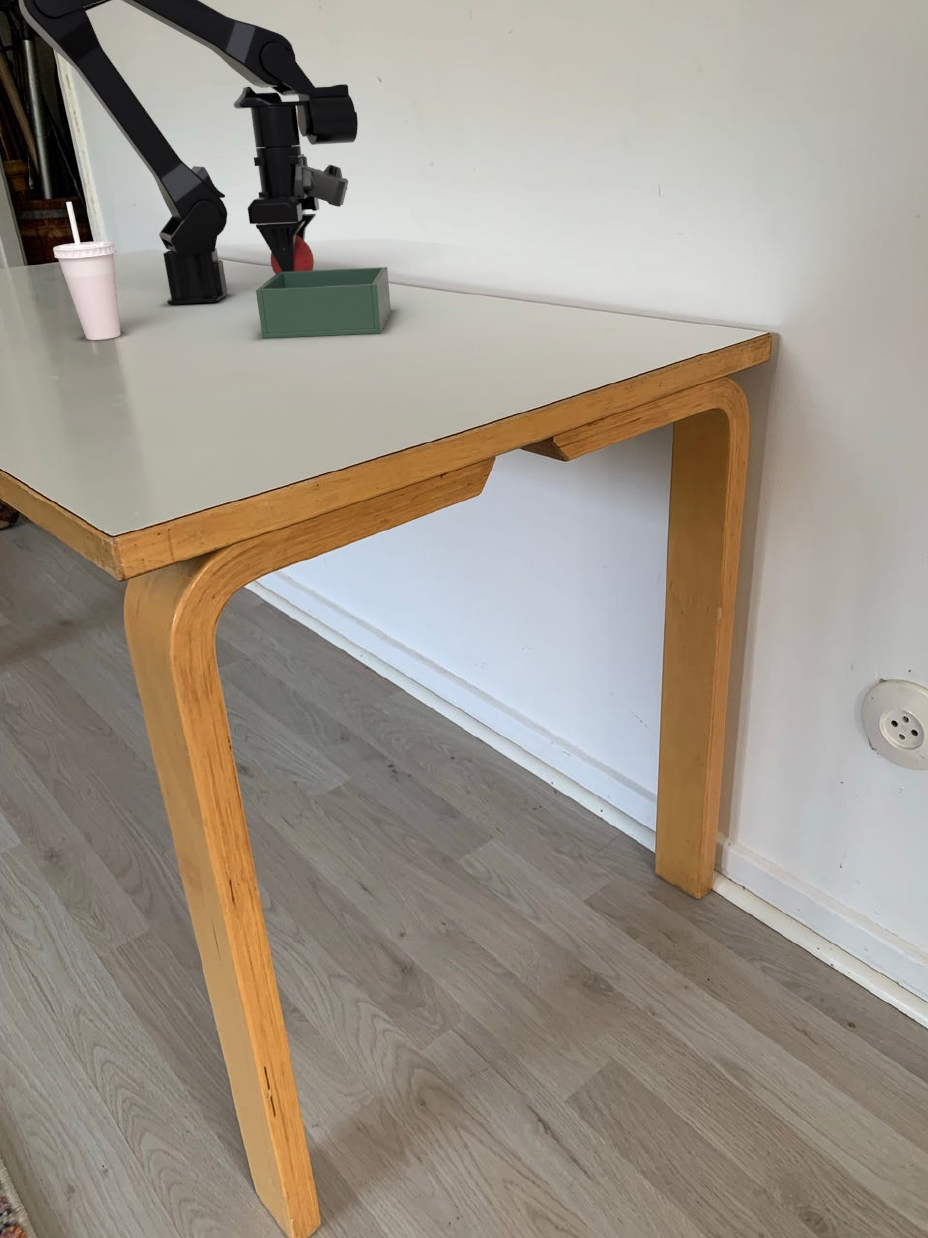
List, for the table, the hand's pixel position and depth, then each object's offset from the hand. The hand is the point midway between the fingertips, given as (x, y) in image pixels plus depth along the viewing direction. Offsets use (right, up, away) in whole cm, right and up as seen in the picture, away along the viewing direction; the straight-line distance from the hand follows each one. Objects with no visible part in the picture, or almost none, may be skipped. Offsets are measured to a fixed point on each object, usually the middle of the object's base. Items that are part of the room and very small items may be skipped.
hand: (293, 273), depth 131 cm
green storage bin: (+8, -14, -23) cm, 28 cm away
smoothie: (-17, -16, -23) cm, 33 cm away
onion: (0, -2, +1) cm, 2 cm away
